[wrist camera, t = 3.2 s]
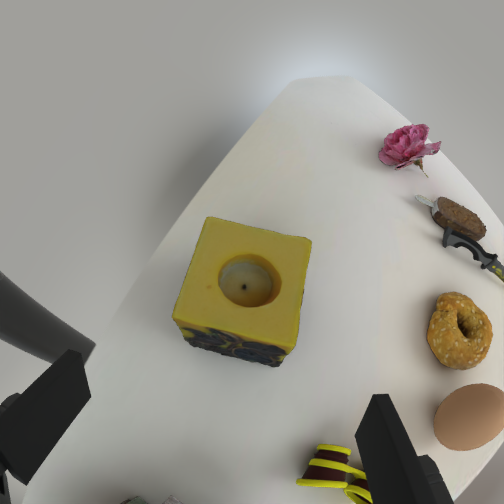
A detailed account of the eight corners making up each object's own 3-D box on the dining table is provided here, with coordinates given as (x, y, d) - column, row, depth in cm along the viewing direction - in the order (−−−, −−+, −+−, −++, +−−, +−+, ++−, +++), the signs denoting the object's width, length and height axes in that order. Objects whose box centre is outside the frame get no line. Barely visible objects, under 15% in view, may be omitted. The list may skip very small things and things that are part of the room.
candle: (212, 265, 35) (204, 212, 27) (296, 284, 34) (314, 235, 26) (186, 346, 30) (164, 315, 22) (279, 369, 29) (296, 348, 21)
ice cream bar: (480, 249, 38) (489, 240, 36) (410, 213, 41) (417, 202, 39) (478, 226, 41) (486, 217, 39) (412, 191, 44) (418, 180, 41)
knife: (519, 304, 35) (538, 293, 31) (519, 311, 35) (538, 301, 30) (437, 234, 39) (456, 216, 35) (436, 241, 38) (455, 223, 34)
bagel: (468, 295, 34) (488, 280, 30) (480, 368, 28) (503, 359, 24) (417, 295, 34) (436, 278, 30) (427, 378, 28) (450, 370, 24)
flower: (369, 174, 50) (367, 120, 46) (404, 171, 52) (403, 122, 48) (415, 186, 40) (415, 122, 36) (448, 182, 43) (448, 126, 38)
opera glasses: (383, 471, 23) (409, 468, 19) (364, 510, 20) (388, 514, 16) (313, 441, 26) (331, 436, 22) (288, 482, 22) (303, 484, 19)
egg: (416, 454, 23) (477, 457, 14) (420, 393, 27) (481, 376, 18) (462, 445, 23) (523, 439, 14) (465, 389, 27) (524, 369, 18)
